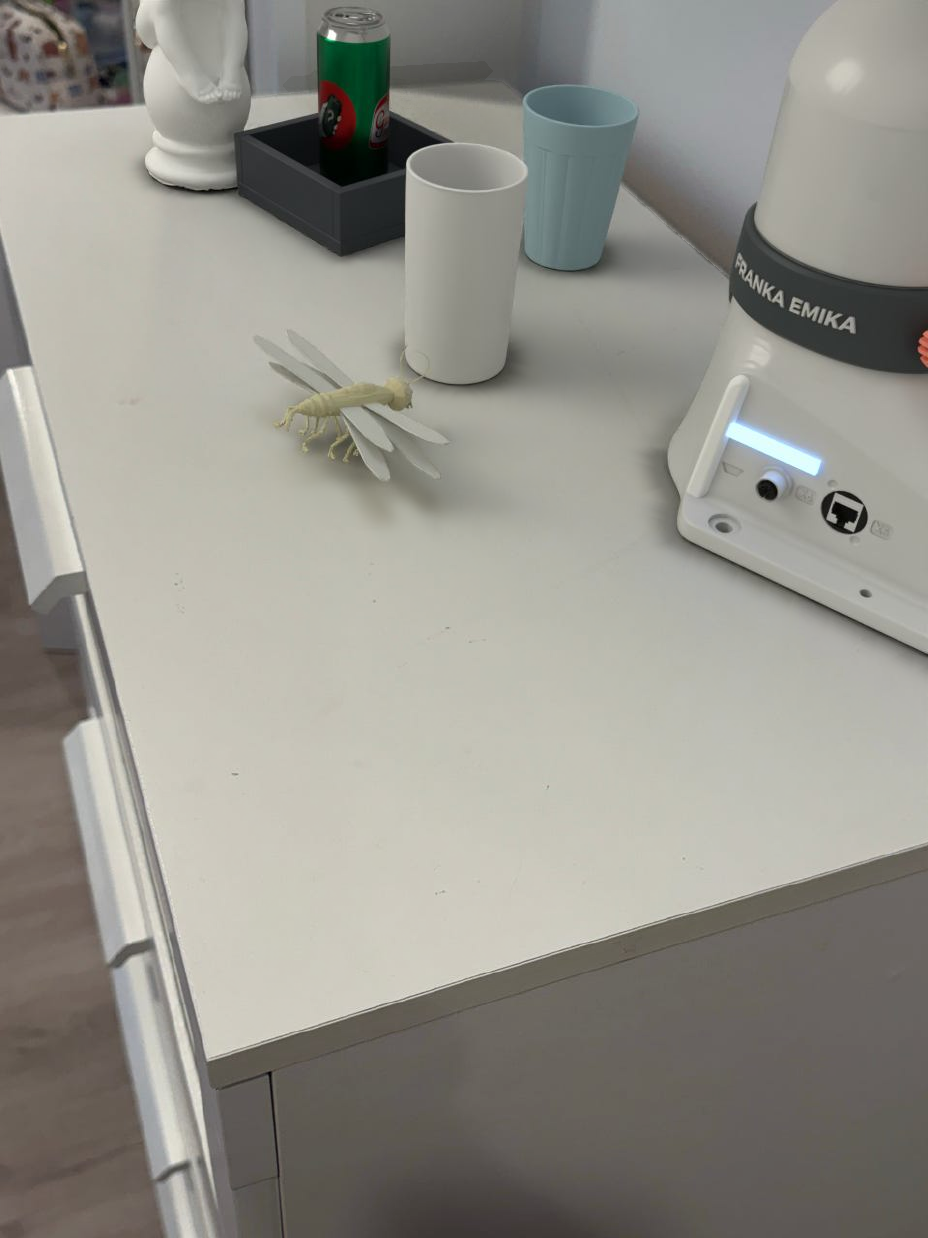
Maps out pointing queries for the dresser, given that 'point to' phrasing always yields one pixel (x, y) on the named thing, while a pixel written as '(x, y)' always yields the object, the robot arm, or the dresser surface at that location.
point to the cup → (573, 170)
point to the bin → (327, 183)
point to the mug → (461, 258)
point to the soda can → (353, 94)
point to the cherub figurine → (195, 89)
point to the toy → (353, 407)
